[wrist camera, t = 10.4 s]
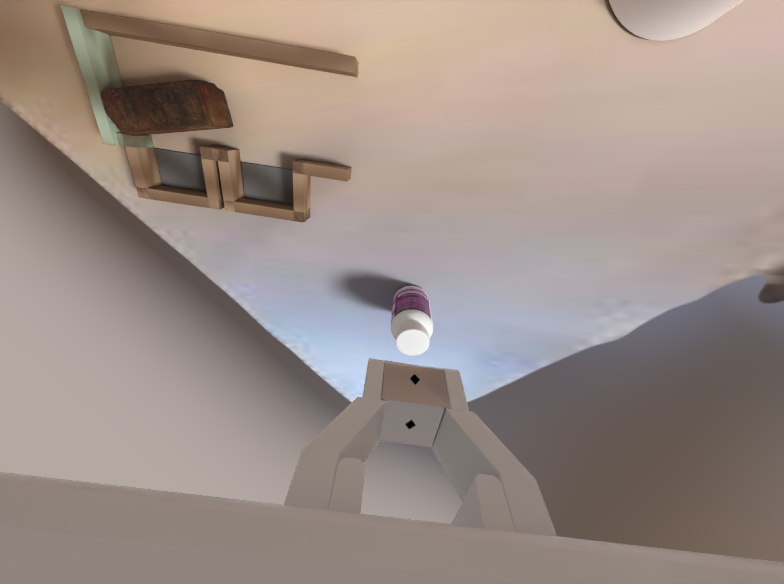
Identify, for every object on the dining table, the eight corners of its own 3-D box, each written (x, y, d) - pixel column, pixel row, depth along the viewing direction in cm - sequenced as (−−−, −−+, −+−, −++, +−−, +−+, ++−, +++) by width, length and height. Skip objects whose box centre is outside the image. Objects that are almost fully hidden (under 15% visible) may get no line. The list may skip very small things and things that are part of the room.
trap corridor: (92, 16, 28) (60, 4, 25) (358, 62, 29) (353, 55, 26) (140, 191, 36) (119, 195, 33) (347, 222, 37) (343, 229, 34)
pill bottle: (386, 292, 41) (382, 332, 33) (421, 279, 40) (425, 317, 32) (401, 320, 44) (400, 365, 35) (434, 309, 43) (441, 352, 34)
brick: (223, 84, 30) (195, 77, 26) (236, 128, 32) (211, 127, 28) (130, 93, 31) (87, 87, 27) (147, 135, 33) (110, 135, 29)
